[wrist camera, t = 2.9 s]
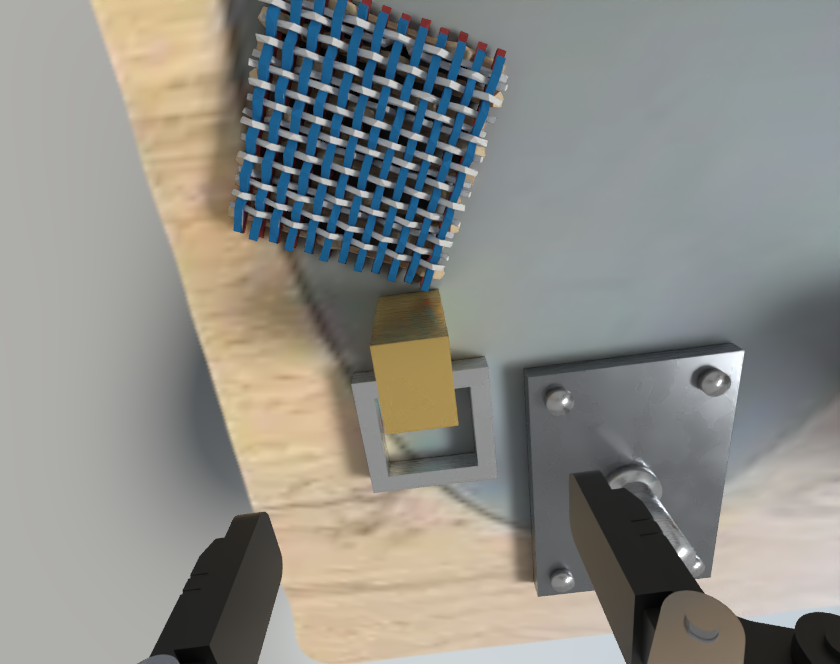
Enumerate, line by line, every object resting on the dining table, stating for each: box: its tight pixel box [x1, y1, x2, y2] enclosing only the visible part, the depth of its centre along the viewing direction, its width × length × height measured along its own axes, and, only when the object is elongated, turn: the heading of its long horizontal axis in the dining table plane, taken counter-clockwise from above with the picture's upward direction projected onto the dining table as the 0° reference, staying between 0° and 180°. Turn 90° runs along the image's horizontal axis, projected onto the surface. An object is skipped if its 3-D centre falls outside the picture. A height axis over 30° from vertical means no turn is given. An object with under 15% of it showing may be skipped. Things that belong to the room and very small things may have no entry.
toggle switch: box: [524, 343, 744, 597], centre depth 25 cm, size 16×11×6 cm
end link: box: [351, 289, 497, 493], centre depth 23 cm, size 11×7×6 cm, turn 7°
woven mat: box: [228, 0, 508, 292], centre depth 20 cm, size 10×11×2 cm
